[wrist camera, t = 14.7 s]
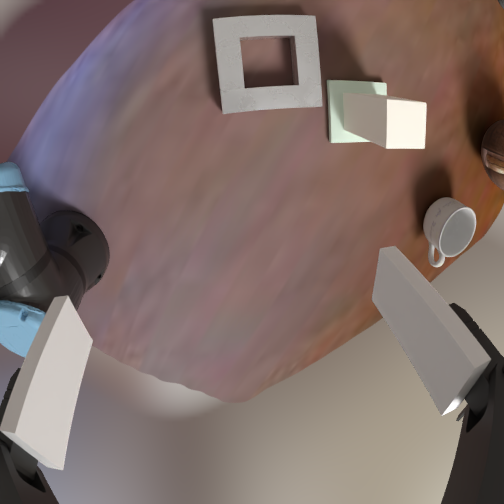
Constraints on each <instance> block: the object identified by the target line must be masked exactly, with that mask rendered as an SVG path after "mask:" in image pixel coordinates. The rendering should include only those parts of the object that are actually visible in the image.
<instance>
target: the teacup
mask: <svg viewBox="0 0 504 504" xmlns="http://www.w3.org/2000/svg"><path fill="white" fill-rule="evenodd" d="M475 228H476V216H475V213H474V211H473V210H472V209H471V208H469V207H467V206H465V205H464V204H462V203H460V202H459V201H457V200H455V199H453V198H449V197H444V198H441V199H438V200H437V201H435V202H434V203H433V204H432V205H431V206H430V207H429V209H428V210H427V212H426V215H425V218H424V223H423V229H424V234H425V236H426V238H427V239H428V241H429V251H428V259H429V262H430V264H431V265H432V266H434V267H439V266H441V265H442V264H443V263H444V260H445V256H446V257H453V256H456V255H458V254H459V253H460V252H462V251H463V250H464V249H465V248H466V247H467V245H468V244H469V242H470V241H471V239H472V237H473V234H474V232H475ZM435 247H436V248H437V251H438V253H439V260H438V261H437V262H435V261H434V248H435Z"/></svg>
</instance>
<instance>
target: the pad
mask: <svg viewBox="0 0 504 504" xmlns="http://www.w3.org/2000/svg"><path fill="white" fill-rule="evenodd" d="M343 93H366V94H380V95H386V96H387V90H386V83H379V82H365V81H344V80H327V94H328V117H329V142H331V143H342V142H371V141H369V140H366V139H364V138H362V137H359V136H357V135H355V134H352V133H350V132H348V131H345V130H344V111H343Z"/></svg>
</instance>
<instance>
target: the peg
mask: <svg viewBox="0 0 504 504" xmlns="http://www.w3.org/2000/svg"><path fill="white" fill-rule="evenodd" d="M343 111H344V130H345V131H348V132H350V133H352V134H355V135H357V136H359V137H362V138H364V139H366V140H369V141H371V142H373V143H375V144H378V145H380V146H382V147H384V148H386V149H389V148H413V149H425V132H426V103H424V102H419V101H414V100H409V99H404V98H398V97H392V96H386V95H380V94H366V93H343Z"/></svg>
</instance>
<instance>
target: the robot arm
mask: <svg viewBox="0 0 504 504" xmlns="http://www.w3.org/2000/svg"><path fill="white" fill-rule="evenodd" d="M28 192H29V189H28V188H27V187H26V186H25V183H24V180H23V177H22V175H21V172H20V169H19V167H18V166H17V165H16V164H15V163H13V162H5V163H1V164H0V343H1V344H2V345H3V346H5V347H6V348H8V349H9V350H10V351H12V352H14V353H16V354H18V355H20V356H23V357H26V358H25V360H24V363H23V365H22V367H21V368H18V369H17V370H16V372H15V373H14V374H13V376H12V377H11V379H10V381H9V384H8V387H7V391H6V392H5V395H4V400H2V403H1V406H0V504H59V503H58V501H57V499H56V497H55V496H54V494H53V492H52V490H51V488H50V486H49V485H48V483H47V481H46V479H45V477H44V475H43V473H42V471H41V470H40V469H39V467H38V466H37V463H38V461H39V462H41V463H42V464H44V465H45V466H47V467H49V468H55V469H60V470H63V467H64V461H65V455H66V449H67V443H68V438H69V433H70V428H71V423H72V418H73V414H74V409H75V405H76V400H77V397H78V393H79V388H80V385H81V380H82V377H83V373H84V370H85V366H86V362H87V359H88V355H89V352H90V349H91V345H92V342H93V341H92V339H91V337H90V335H89V334H88V332H87V330H86V328H85V327H84V325H83V323H82V321H81V319H80V317H79V316H78V314H77V312H76V311H77V309H78V307H79V304H80V302H81V300H82V297H83V295H84V294H85V293H86V292H87V291H88V290H89V289H91V288H92V287H93V286H95V285H96V284H97V283H98V282H99V281H100V280H101V278H102V277H103V275H104V273H105V271H106V269H107V267H108V263H109V256H110V254H109V247H108V243H107V241H106V238H105V236H104V234H103V233H102V231H101V230H100V229H99V227H98V226H97V225H96V224H95V223H94V222H93V221H92V220H90V219H89V218H87V217H86V216H84V215H82V214H80V213H77V212H74V211H58V212H55V213H53V214H51V215H50V216H48V217H47V218H46V219H45V220H44V221H43V222H42V223H41V224H39V222H38V219H37V216H36V214H35V211H34V208H33V205H32V202H31V199H30V196H29V193H28ZM372 301H373V302H374V304H375V305H376V307H377V308H378V310H379V312H380V313H381V315H382V316H383V318H384V319H385V321H386V322H387V324H388V326H389V327H390V329H391V330H392V332H393V333H394V335H395V337H396V338H397V340H398V341H399V343H400V345H401V346H402V348H403V350H404V351H405V353H406V355H407V356H408V358H409V360H410V361H411V363H412V365H413V366H414V368H415V370H416V371H417V373H418V375H419V376H420V378H421V380H422V382H423V383H424V385H425V387H426V389H427V390H428V392H429V394H430V396H431V397H432V399H433V401H434V403H435V405H436V407H437V408H438V410H439V412H440V414H441V415H444V414H446V413H448V412H450V411H452V410H454V409H456V408H458V406H459V405H460V404H461V402H462V401H463V400H464V399H465V400H466V402H467V403H468V404H467V406H466V407H465V408H464V409H463V411H462V412H461V413H460V414H459V415H458V418H457V420H456V421H459V420H460V419H461V418H462V417H463V416H464V418H463V421H462V422H463V423H462V429H461V434H460V438H459V443H458V447H457V451H456V455H455V459H454V463H453V467H452V470H451V474H450V478H449V481H448V484H447V487H446V490H445V493H444V496H443V499H442V502H441V504H504V357H503V356H502V355H501V354H500V353H499V351H498V350H497V349H496V348H495V346H494V345H493V344H492V342H491V341H490V340H489V339H488V337H487V336H486V335H485V334H484V332H483V331H482V330H481V329H479V326H478V325H477V324H476V322H475V321H473V319H472V318H471V317H470V315H469V314H468V313H467V312H466V311H465V310H464V309H463V308H461V307H460V306H458V305H457V304H455V303H452V304H449V305H448V304H447V303H446V301H445V300H444V299H443V298H442V297H441V296H440V294H439V293H438V292H437V291H436V290H435V289H434V287H433V286H432V285H431V284H430V283H429V282H428V281H427V280H426V279H425V277H424V276H423V275H422V274H421V273H420V272H419V271H418V270H417V269H416V268H415V266H414V265H413V264H412V263H411V262H410V261H409V260H408V259H407V258H406V257H405V256H404V255H403V254H402V253H401V252H400V251H399V250H398V249H397V248H396V246H392V247H386V248H381V249H380V252H379V259H378V265H377V272H376V278H375V284H374V289H373V295H372Z"/></svg>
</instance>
